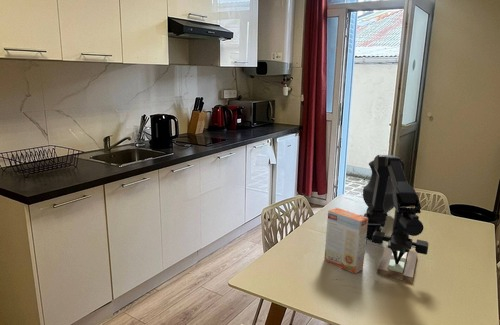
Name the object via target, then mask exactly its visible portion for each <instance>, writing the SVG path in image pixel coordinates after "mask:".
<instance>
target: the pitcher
mask: <svg viewBox="0 0 500 325" xmlns="http://www.w3.org/2000/svg"><path fill="white" fill-rule="evenodd" d="M368 166H369V168H370V169H371V176H370V179H369V181H368V183H367V184H366V185H365V186H363V189H362V198H363V201H364V203H365V205H366V206H367V208H368V207H369V206H370V205H371V204H372V201H373V195H374V189H375V183H376V177H377V172H376V170H375V168H374V159H373V160H371V161H370V162H368ZM401 166H402V169H403V171H404V172H405V163H404V161H403V160H401ZM394 191H395V189H394V185H393V182H392V179H391V176H389V178H388V183H387V189H386V194H385V199H384V205H383V208H384V211H385V213H386V217H387V218H388V213H389V212H390V211H391V210H393V209H395V207H394V202H393V193H394Z"/></svg>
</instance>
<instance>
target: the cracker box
mask: <svg viewBox="0 0 500 325" xmlns="http://www.w3.org/2000/svg"><path fill="white" fill-rule="evenodd" d="M367 225H368V218H367V217H364V215H361V214H359V213H355V212H351V211H349V210H345V209H342V208H339V207H334V208H332V209H329V210H328V211H327V224H326V234H325V244H324V247H325V248H324V257H323V258H324V261H327V262H329V263H330V264H333V265H335V266H338V267H340V268H341V269H344V270H346V271H348V272H351V273H352V274H357V273H359V272H361V271H362V270H363V269H364V262H365V252H366V244H367V239H366V235H367Z"/></svg>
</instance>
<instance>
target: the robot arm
mask: <svg viewBox="0 0 500 325" xmlns="http://www.w3.org/2000/svg"><path fill="white" fill-rule="evenodd" d="M373 160H374V168H375V170H376V172H377V177H376V183H375V189H374V195H373V201H372V204H371V205H370V206H369V207H368V206H367V209H366V211H365V213H364V215H363V216H364V217H367V218H368V225H367V235H366V240H368V241H369V240H370V241H371V242H372V243H373V244H377V245H381V244H383V243H384V242H387V243H388V244H387V245H388V248H390V249H391V250H392V252H393V255H394V259H395V263H396V264H398V263H399V261H400V259H401V257H402V256H403V254H404V253H405V252H409V251H411V250H412V248H415V252H417V254H422V255H428V250H429V242H428V241H427V240H422V239H416V241H413V238H410V236H411V237H416V236H419V235H421V234H422V233H423V231H424V225H423V222H422V221H421V220H419V219H420V217H419V216H418V215H417V214H421V209H422V206H421V202H420V198H419V195H418V194H417V192H416V190H415V188H414V187H413V186H412V185H410V184H409V183H408V180H407V177H406V174H405V170H404V171H403V169H402V166H401V158H400V157H399V156H394V155H393V154H377V155H376V156H374V158H373ZM389 176H391V179H392V182H393V185H394V189H395V191H394V193H393V202H394V209H395V210H394V216H393V224H392V225H393V226H392V232H391V235H390V236H387V235H386V232H383V230H382V228H384V227H385V225H386V222H387V219H388V216H387V217H386V213H385V211H384V208H383V205H384V199H385V194H386V189H387V183H388V178H389ZM398 251H400V252H399V256H398Z"/></svg>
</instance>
